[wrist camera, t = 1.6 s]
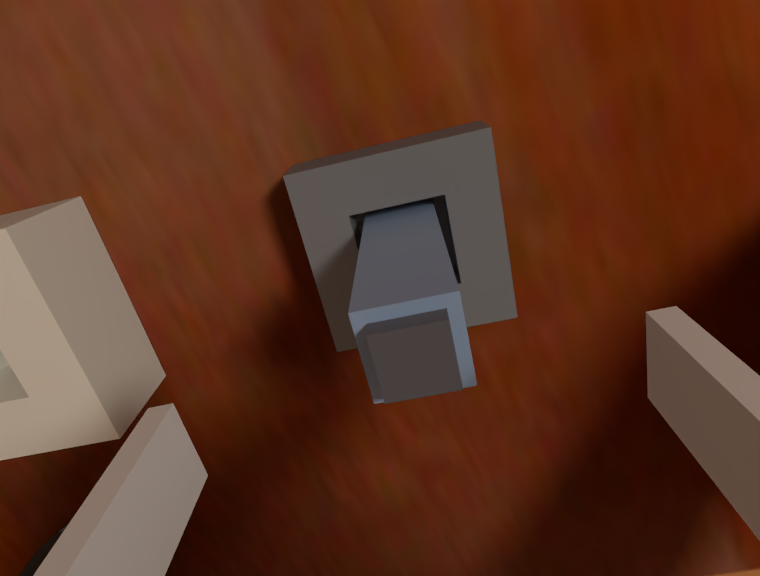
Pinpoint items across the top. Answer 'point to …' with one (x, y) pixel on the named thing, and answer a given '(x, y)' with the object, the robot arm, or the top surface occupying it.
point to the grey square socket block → (402, 186)
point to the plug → (408, 307)
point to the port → (66, 335)
